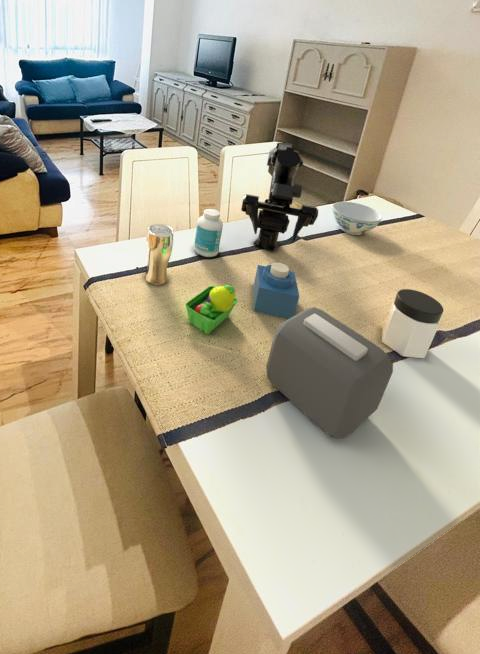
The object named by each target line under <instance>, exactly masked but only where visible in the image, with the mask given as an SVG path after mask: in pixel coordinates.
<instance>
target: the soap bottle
mask: <svg viewBox="0 0 480 654" xmlns="http://www.w3.org/2000/svg"><path fill="white" fill-rule="evenodd" d="M271 266H272V264H267V265H261V264H257V267H256V271H255V276H254V281H253V286H252V293H253V311H254V312H257V313H262V314H266V315H270V316H275V317H279V318H283V319H286V320H288V319H290V318H291V317H293V316H295V315H296V314H295V313H296V310H297V306H298V302H299V299H300V292H299V287H298V281H297V277H296V273H295V271H292V270H290V269H289V272H288V276H287V278H284V279H282V278H277V277H275V276H273V275H272V274H271V273H270V270H271Z"/></svg>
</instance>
